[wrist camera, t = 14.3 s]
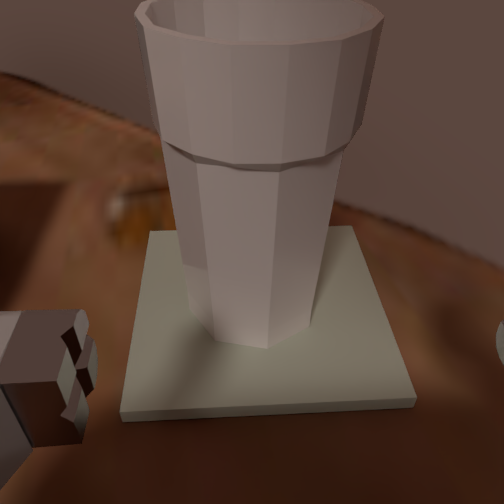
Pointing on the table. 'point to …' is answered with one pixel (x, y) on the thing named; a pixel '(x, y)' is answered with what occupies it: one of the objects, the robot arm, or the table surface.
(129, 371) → the pad
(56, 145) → the table surface
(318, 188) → the cup
